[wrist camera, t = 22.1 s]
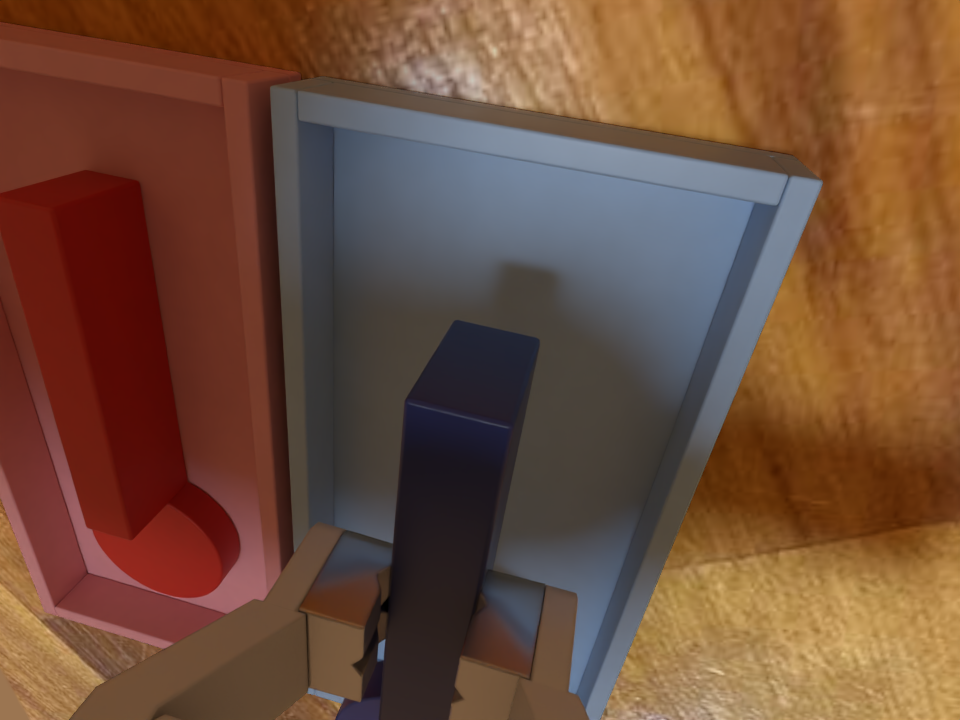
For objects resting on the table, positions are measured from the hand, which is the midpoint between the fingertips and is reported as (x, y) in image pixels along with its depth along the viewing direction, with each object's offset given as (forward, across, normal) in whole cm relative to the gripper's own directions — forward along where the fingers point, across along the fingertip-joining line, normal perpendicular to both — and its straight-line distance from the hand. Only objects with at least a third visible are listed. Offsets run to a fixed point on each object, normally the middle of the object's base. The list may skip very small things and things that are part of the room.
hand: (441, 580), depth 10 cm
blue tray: (+6, 0, +2) cm, 6 cm away
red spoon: (+5, +10, +3) cm, 11 cm away
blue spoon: (+2, 0, +3) cm, 4 cm away
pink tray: (+6, +10, +2) cm, 11 cm away
